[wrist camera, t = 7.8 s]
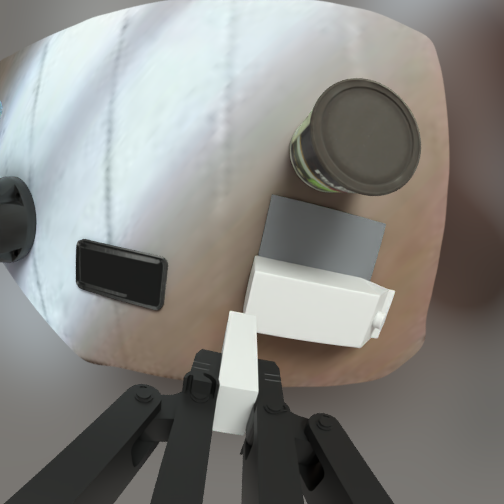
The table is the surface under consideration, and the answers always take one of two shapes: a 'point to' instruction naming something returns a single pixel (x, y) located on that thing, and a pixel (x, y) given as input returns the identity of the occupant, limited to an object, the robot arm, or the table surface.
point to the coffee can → (357, 140)
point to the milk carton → (314, 303)
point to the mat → (321, 237)
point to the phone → (121, 273)
